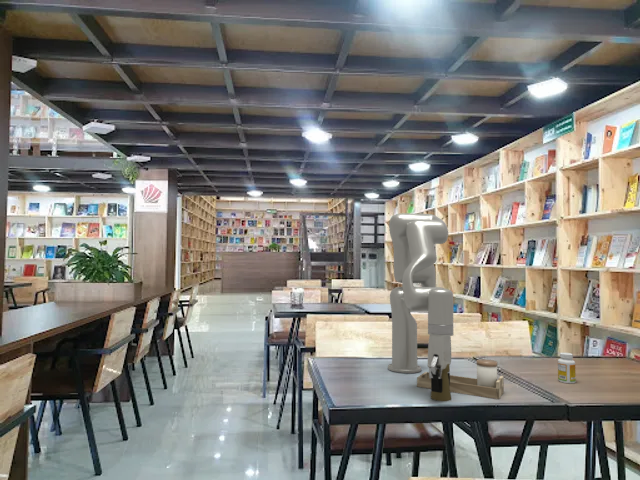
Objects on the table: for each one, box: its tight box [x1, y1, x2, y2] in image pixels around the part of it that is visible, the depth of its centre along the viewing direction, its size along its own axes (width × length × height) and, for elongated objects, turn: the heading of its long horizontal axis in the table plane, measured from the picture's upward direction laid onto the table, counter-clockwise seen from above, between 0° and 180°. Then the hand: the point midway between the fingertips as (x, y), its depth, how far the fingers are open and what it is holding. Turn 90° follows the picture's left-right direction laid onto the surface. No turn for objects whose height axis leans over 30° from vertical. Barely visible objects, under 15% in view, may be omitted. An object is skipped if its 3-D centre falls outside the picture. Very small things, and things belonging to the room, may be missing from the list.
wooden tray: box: [416, 371, 505, 400], centre depth 144 cm, size 9×25×5 cm, turn 59°
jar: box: [476, 358, 498, 388], centre depth 140 cm, size 6×6×10 cm
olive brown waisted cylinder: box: [430, 364, 452, 402], centre depth 134 cm, size 6×6×11 cm
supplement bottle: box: [557, 352, 577, 384], centre depth 155 cm, size 5×5×10 cm
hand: (440, 388), depth 134 cm, fingers open, 7 cm apart
